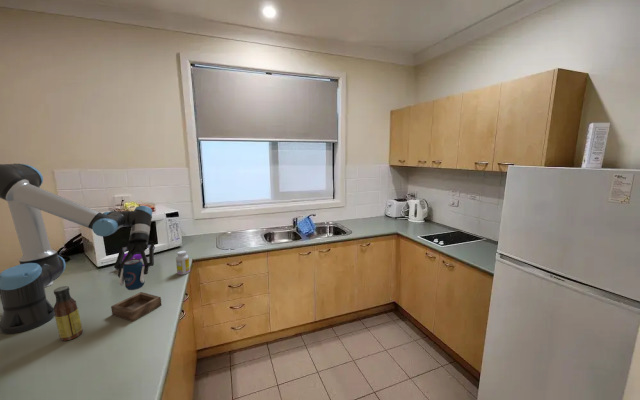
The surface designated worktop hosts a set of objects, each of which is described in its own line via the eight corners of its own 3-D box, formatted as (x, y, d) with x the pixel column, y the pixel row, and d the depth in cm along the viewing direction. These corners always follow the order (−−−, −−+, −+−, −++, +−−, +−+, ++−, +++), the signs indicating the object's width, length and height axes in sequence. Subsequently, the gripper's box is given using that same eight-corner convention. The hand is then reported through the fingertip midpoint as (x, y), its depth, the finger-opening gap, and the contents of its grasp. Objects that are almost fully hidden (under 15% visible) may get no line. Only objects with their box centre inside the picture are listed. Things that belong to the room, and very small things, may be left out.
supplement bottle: (189, 269, 158) (187, 249, 156) (190, 273, 152) (188, 252, 150) (176, 271, 154) (174, 251, 152) (177, 276, 148) (175, 254, 146)
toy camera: (138, 272, 153) (136, 256, 152) (119, 270, 156) (117, 254, 154) (153, 265, 164) (152, 250, 162) (135, 263, 167) (133, 248, 165)
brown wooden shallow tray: (132, 321, 107) (131, 312, 106) (112, 314, 111) (111, 306, 111) (161, 305, 119) (160, 297, 118) (142, 299, 124) (141, 291, 123)
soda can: (121, 291, 110) (118, 264, 108) (133, 283, 117) (130, 258, 115) (137, 291, 110) (134, 264, 108) (148, 283, 117) (145, 258, 115)
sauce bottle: (81, 328, 102) (73, 281, 99) (84, 335, 98) (76, 287, 95) (57, 337, 97) (49, 288, 94) (60, 344, 93) (51, 294, 90)
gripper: (165, 237, 128) (160, 282, 116) (117, 241, 122) (107, 289, 109) (161, 229, 123) (156, 276, 110) (111, 233, 116) (99, 283, 104)
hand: (131, 282), depth 110 cm, fingers closed on soda can, 7 cm apart
